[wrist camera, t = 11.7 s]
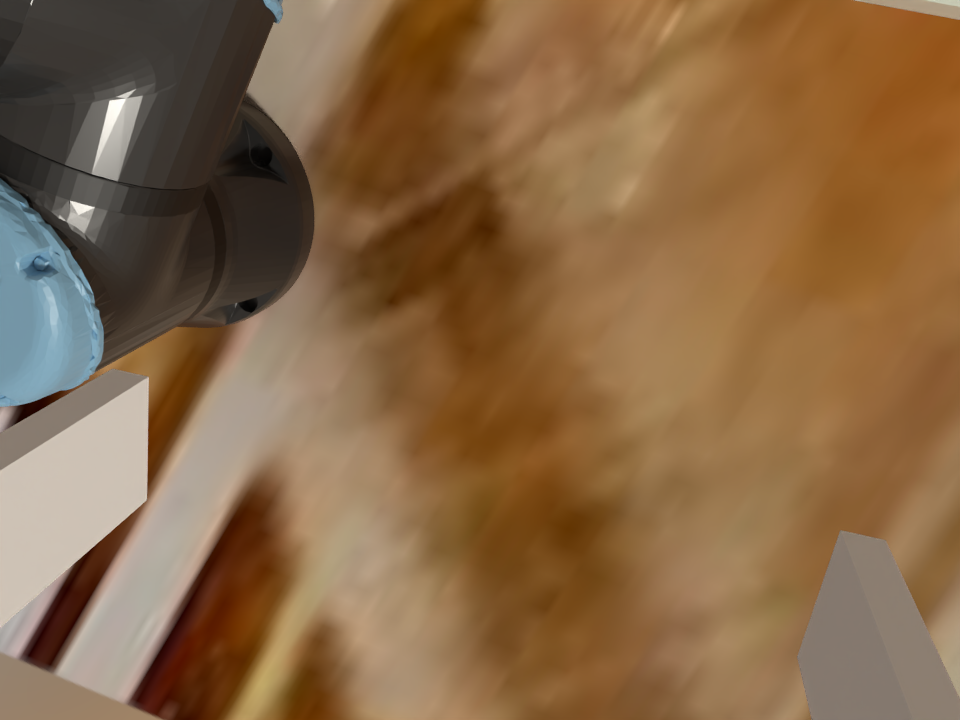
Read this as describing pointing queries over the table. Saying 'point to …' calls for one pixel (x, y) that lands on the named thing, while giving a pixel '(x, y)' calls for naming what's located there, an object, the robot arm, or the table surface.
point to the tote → (924, 6)
